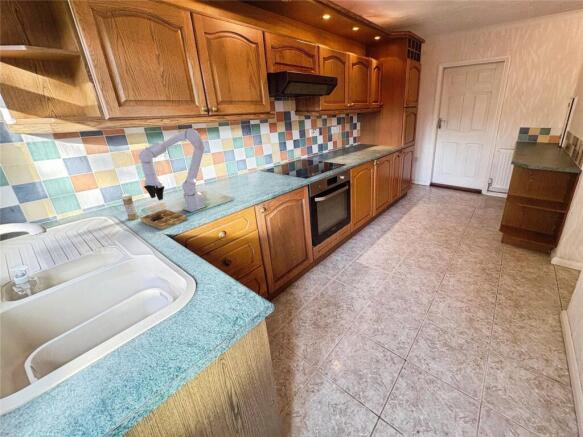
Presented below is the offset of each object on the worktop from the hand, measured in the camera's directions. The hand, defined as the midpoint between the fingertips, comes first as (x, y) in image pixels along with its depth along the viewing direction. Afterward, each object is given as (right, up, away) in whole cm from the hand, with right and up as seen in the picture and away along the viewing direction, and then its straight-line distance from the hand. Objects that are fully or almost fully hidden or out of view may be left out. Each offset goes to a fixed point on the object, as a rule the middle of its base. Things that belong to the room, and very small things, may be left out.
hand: (157, 198), depth 139 cm
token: (+4, -12, -8) cm, 15 cm away
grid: (+6, -12, -5) cm, 14 cm away
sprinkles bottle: (-13, -11, +1) cm, 17 cm away
